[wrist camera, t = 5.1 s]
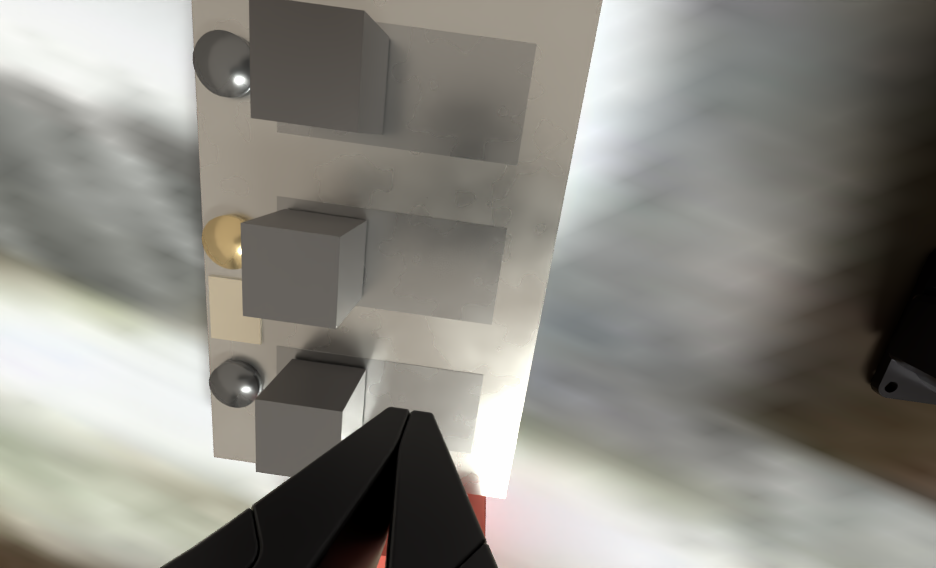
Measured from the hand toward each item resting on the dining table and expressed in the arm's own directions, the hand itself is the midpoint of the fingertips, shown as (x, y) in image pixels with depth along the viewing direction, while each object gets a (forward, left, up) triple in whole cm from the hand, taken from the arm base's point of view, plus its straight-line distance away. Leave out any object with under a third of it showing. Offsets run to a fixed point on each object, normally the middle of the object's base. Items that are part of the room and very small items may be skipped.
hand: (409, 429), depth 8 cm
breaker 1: (+4, -7, -9) cm, 12 cm away
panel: (+3, -1, -11) cm, 11 cm away
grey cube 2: (+5, -1, -9) cm, 10 cm away
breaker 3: (+4, +5, -9) cm, 11 cm away
